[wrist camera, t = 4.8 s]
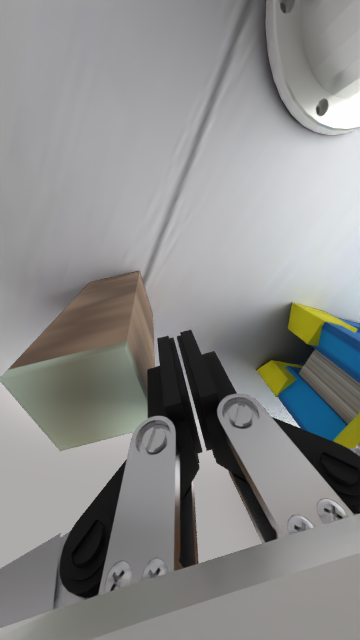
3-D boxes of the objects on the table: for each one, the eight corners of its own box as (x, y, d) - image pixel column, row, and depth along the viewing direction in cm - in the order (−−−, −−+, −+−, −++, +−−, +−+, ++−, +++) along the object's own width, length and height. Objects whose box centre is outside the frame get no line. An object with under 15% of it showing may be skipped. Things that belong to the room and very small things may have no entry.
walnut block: (139, 270, 18) (125, 348, 7) (152, 315, 20) (156, 426, 9) (89, 282, 18) (-2, 379, 7) (108, 325, 20) (60, 451, 9)
